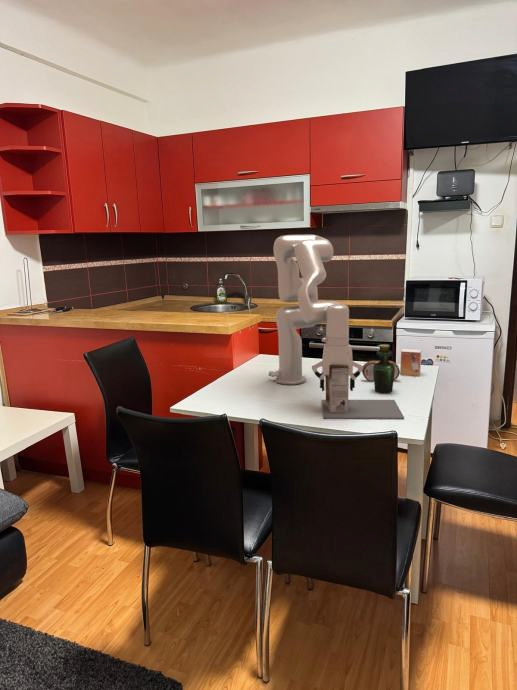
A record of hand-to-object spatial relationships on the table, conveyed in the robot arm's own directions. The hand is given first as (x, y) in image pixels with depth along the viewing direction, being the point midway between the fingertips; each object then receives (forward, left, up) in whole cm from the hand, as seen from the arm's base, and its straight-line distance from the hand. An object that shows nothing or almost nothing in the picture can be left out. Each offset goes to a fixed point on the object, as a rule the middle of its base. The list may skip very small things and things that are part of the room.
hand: (337, 390), depth 168 cm
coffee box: (0, 0, -7) cm, 7 cm away
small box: (+34, +45, -7) cm, 57 cm away
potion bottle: (+19, +21, -7) cm, 29 cm away
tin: (+20, +35, -7) cm, 41 cm away
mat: (+8, 0, -7) cm, 11 cm away
